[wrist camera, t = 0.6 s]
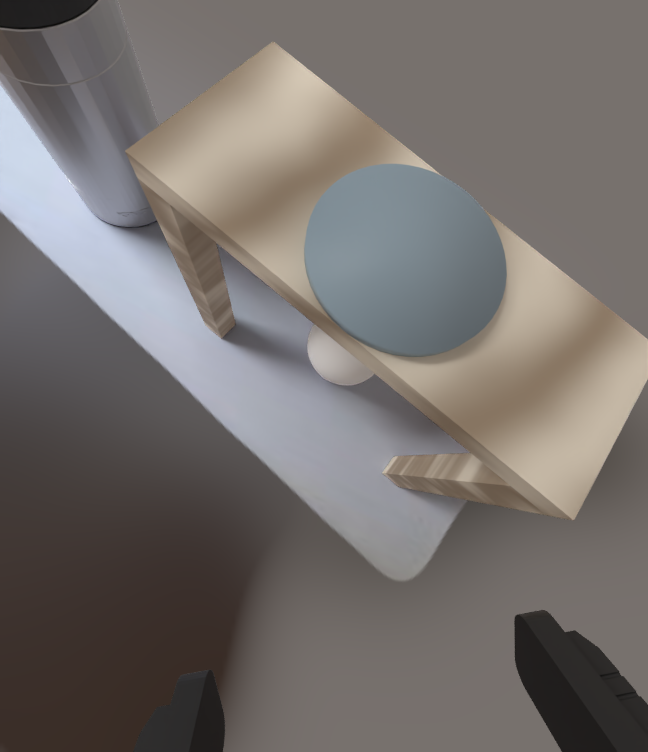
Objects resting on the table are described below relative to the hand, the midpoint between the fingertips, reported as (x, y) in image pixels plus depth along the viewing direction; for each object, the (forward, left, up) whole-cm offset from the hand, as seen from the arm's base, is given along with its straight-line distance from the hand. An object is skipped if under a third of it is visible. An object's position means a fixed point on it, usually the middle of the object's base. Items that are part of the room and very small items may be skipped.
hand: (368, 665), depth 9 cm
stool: (-11, +9, -24) cm, 28 cm away
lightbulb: (-11, +9, -24) cm, 28 cm away
